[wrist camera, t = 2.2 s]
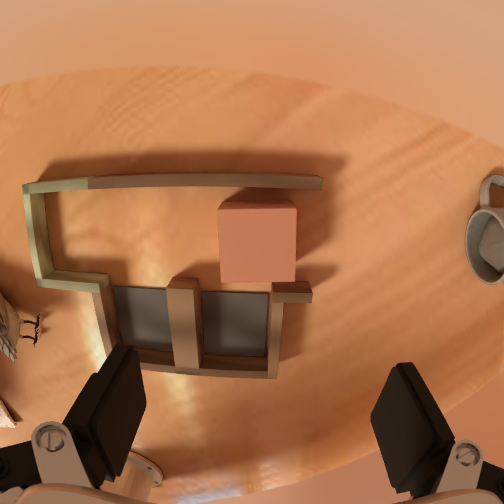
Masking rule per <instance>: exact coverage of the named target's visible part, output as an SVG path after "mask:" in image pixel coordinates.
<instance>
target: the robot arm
mask: <svg viewBox="0 0 504 504" xmlns="http://www.w3.org/2000/svg"><path fill="white" fill-rule="evenodd" d="M145 408H146V396H145V391H144V385H143V379H142V374H141V368H140V361H139V355H138V351H137V350H134V348H133V346H132V345H128V344H122V343H116V345H115V346H114V348H113V349H112V351H111V352H110V354H109V356H108V357H107V359H106V360H105V362H104V363H103V365H102V367H101V368H100V370H99V372H98V373H93V374H92V375H91V376H90V378H89V380H88V381H87V383H86V384H85V386H84V388H83V389H82V391H81V392H80V394H79V396H78V397H77V399H76V401H75V402H74V404H73V406H72V407H71V409H70V411H69V412H68V414H67V416H66V417H65V419H64V421H63V423H62V424H61V423H58V422H53V421H51V422H45V423H42V424H40V425H39V426H37V427H36V428H35V430H34V431H33V433H32V436H31V440H30V441H27V442H23V443H19V444H15V445H12V446H8V447H4V448H0V504H155V503H150V502H148V498H149V494H150V490H151V487H154V486H157V485H159V484H161V482H162V479H163V474H162V472H161V470H160V469H159V468H158V467H157V466H156V465H155V464H154V463H152V462H151V461H149V460H148V459H146V458H144V457H142V456H140V455H138V454H136V453H134V452H131V451H130V449H131V446H132V443H133V441H134V438H135V435H136V433H137V430H138V427H139V424H140V422H141V419H142V416H143V414H144V411H145ZM371 424H372V427H373V430H374V433H375V436H376V439H377V442H378V445H379V448H380V451H381V454H382V457H383V460H384V463H385V467H386V470H387V473H388V477H389V480H390V483H391V486H392V487H393V488H395V489H396V492H397V494H398V493H403V492H407V491H410V494H411V496H410V498H409V500H407V501H403V502H399V503H394V504H504V469H502V468H500V467H497V466H495V465H492V464H490V463H487V462H485V461H483V452H482V450H481V448H480V447H479V446H478V445H477V444H476V443H474V442H472V441H469V440H461V441H458V442H457V443H456V442H455V440H454V438H455V437H454V435H453V433H452V431H451V429H450V427H449V426H448V424H447V422H446V420H445V418H444V416H443V414H442V412H441V411H440V409H439V407H438V405H437V403H436V402H435V400H434V398H433V396H432V395H431V393H430V391H429V389H428V388H427V386H426V384H425V382H424V381H423V379H422V377H421V376H420V374H419V372H418V371H417V369H416V367H415V366H414V364H413V363H412V362H406V363H398V364H397V365H396V366H395V367H393V368H392V369H391V372H390V374H389V376H388V379H387V381H386V383H385V385H384V388H383V390H382V392H381V394H380V396H379V399H378V401H377V403H376V405H375V407H374V409H373V411H372V413H371Z"/></svg>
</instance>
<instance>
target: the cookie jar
mask: <svg viewBox="0 0 504 504" xmlns="http://www.w3.org/2000/svg"><path fill="white" fill-rule="evenodd" d="M16 425H17V423H15V422H14V421H13V419H12V418H11V416H10V414H9V413H8V411H7V409H6V407H5V405H4V403H3V402H2V401H1V400H0V428H1V427H13V428H16Z"/></svg>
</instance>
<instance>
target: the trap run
mask: <svg viewBox="0 0 504 504" xmlns="http://www.w3.org/2000/svg"><path fill="white" fill-rule="evenodd" d="M322 181H323V178H322V177H320V176H317V175H303V174H284V173H258V172H160V173H134V174H115V175H100V176H87V177H75V178H64V179H54V180H45V181H36V182H32V183H28V184H24V185H22V186H23V199H24V209H25V218H26V226H27V233H28V240H29V246H30V252H31V257H32V263H33V268H34V273H35V277H36V282H37V286H38V287H46V288H54V289H63V290H73V291H83V292H92V296H93V301H94V306H95V311H96V316H97V320H98V325H99V329H100V333H101V337H102V341H103V345H104V349H105V353H106V356H107V357H108V356H109V354H110V352H111V351H112V349H113V348H114V346H115V345H116V343H122V342H121V338H120V333H119V328H118V323H117V318H116V313H115V308H114V302H113V296H112V290H111V284H110V277H109V274H102V273H87V272H73V271H59V270H54V267H53V262H52V256H51V250H50V244H49V237H48V229H47V221H46V212H45V202H44V193H46V192H58V191H72V190H87V189H106V188H129V187H169V186H226V187H267V188H291V189H311V190H322ZM112 287H113V293H114V299H115V305H116V310H117V316H118V321H119V326H120V331H121V336H122V340H123V344H128V345H132V346H134V347H142V348H151V349H160V350H171V351H173V352H170V351H160V350H151V349H142V348H134V347H133V348H134V350H137V351H138V355H139V361H140V368H141V369H143V370H150V371H158V372H167V373H177V374H187V375H199V376H214V377H232V378H263V379H277V373H278V363H279V353H280V342H281V330H282V319H283V306H284V303H312V295H313V293H312V290H311V287H310V285H309V282H296V281H295V282H272V287H271V304H270V321H269V337H268V352H267V357H253V356H227V355H209V354H202V341H201V326H200V309H199V289H198V278H175V277H173V278H172V279H171V281H170V283H169V284H168V286H167V288H166V289H155V288H139V287H124V286H112ZM201 297H202V317H203V334H204V349H205V353H210V354H228V355H255V356H265V340H266V323H267V305H268V293H241V292H214V291H201Z"/></svg>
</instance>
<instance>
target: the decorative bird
mask: <svg viewBox="0 0 504 504" xmlns="http://www.w3.org/2000/svg"><path fill="white" fill-rule="evenodd" d="M40 314H41V313H40ZM40 314H39V315H40ZM39 315H38V317H37V322H36V323H35V322H32V321H29V320H26V321H24V320H22V319H20V318H19V315H18V314H17V312H16V311H15V310H14V309H13V308H12V306H11V305H10V304H9V303H8V302H7V301H6V300H5V299H4V297H3V296H2V294H1V292H0V350H1V351H2V352H3V351H4V353H5V354H6V355H7V356H8V358H11V359H12V361H13V362H14V358H15V359H17V357H16V355H15V353H14V351H15V352H16V353H17V351H16V349H15V346H16V344H17V340H18V338H21V339H23V338H30V339H33V340H34V343H33V344H34V345H35V343H37V340H38V339H37V338H38V337H37V334H38V333H37V331H38V330H37V331H36V328H38V326H39V320H38V319H39V318H40V317H39ZM20 323H22V324H23V323H31V324H34V325H36V326H35V332H36V334H35V338H33V337H31V336H23V335H21V334H19V332H20ZM34 347H35V346H34ZM14 363H15V362H14Z"/></svg>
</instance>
